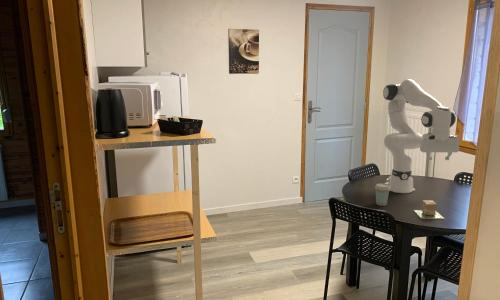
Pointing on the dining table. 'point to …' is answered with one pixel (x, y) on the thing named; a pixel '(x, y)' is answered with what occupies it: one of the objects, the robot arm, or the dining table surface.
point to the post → (423, 216)
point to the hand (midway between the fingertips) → (438, 159)
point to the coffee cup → (382, 194)
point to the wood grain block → (429, 207)
